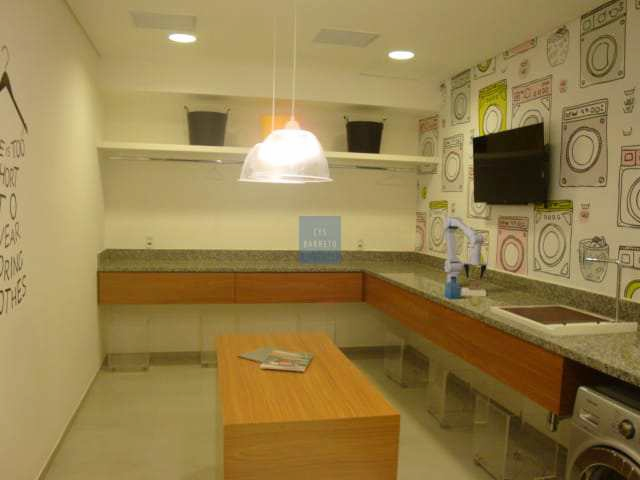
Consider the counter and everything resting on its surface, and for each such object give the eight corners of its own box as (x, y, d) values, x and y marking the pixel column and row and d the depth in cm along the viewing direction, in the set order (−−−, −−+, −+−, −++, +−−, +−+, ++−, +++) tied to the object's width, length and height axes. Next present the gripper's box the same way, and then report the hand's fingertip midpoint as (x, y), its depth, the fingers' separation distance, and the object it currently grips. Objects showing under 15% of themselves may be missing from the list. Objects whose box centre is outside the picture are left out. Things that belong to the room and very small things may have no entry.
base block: (461, 292, 311) (461, 287, 311) (482, 293, 309) (482, 288, 309) (464, 295, 299) (464, 290, 299) (485, 297, 297) (486, 291, 297)
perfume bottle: (450, 299, 284) (451, 277, 283) (444, 297, 290) (445, 275, 289) (460, 299, 286) (461, 277, 285) (454, 296, 292) (455, 275, 291)
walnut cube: (468, 288, 307) (469, 280, 306) (477, 288, 306) (477, 280, 306) (470, 290, 302) (470, 281, 301) (478, 290, 301) (479, 281, 301)
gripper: (463, 255, 299) (462, 278, 300) (489, 256, 297) (488, 279, 298) (462, 253, 306) (460, 276, 307) (487, 254, 304) (486, 277, 305)
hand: (474, 278), depth 303 cm, fingers open, 7 cm apart
